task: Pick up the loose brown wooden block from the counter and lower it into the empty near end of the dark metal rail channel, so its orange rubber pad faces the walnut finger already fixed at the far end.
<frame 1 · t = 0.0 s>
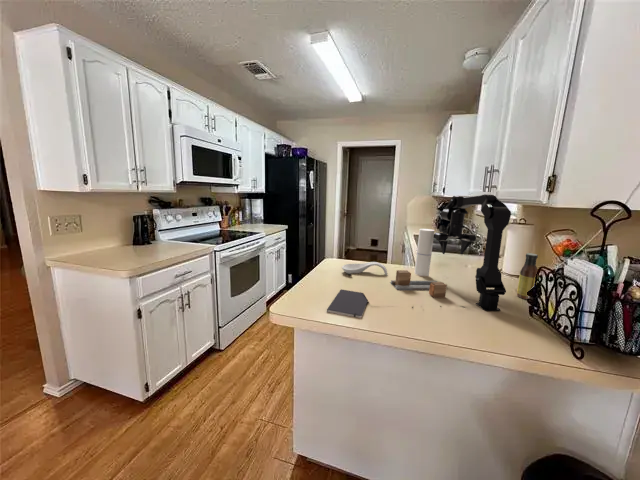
hand: (452, 254, 135), 15 cm above the countertop, tool pointing down, fingers open, 9 cm apart
spoon rest: (364, 275, 145), on the countertop
brown wooden block: (436, 299, 116), on the countertop
notebook: (349, 305, 108), on the countertop
cylindrical container: (421, 277, 145), on the countertop
rail: (416, 289, 126), on the countertop
sauce bottle: (524, 297, 123), on the countertop
fixed walnut finger: (401, 286, 125), resting on rail
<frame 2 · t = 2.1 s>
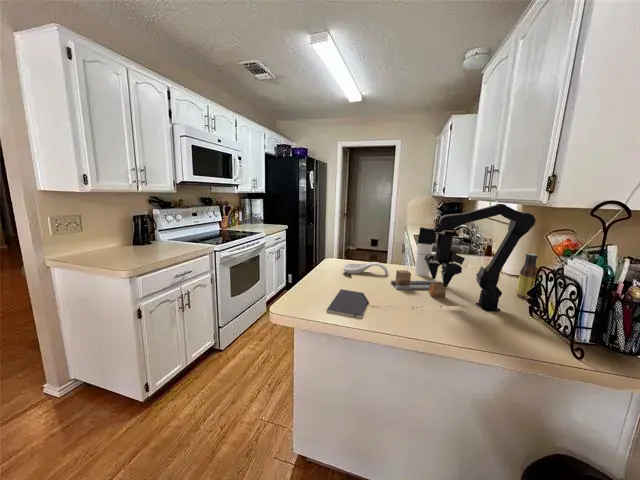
hand: (439, 282, 115), 7 cm above the countertop, tool pointing down, fingers open, 9 cm apart
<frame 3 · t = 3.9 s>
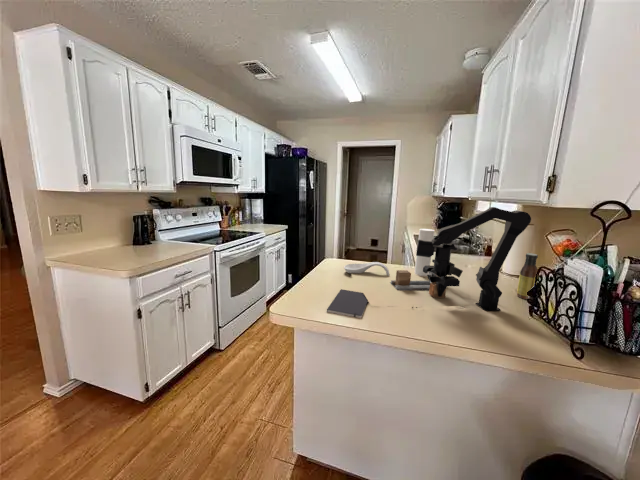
hand: (437, 294, 116), 2 cm above the countertop, tool pointing down, fingers closed on brown wooden block, 3 cm apart
brown wooden block: (436, 299, 116), on the countertop, touching gripper
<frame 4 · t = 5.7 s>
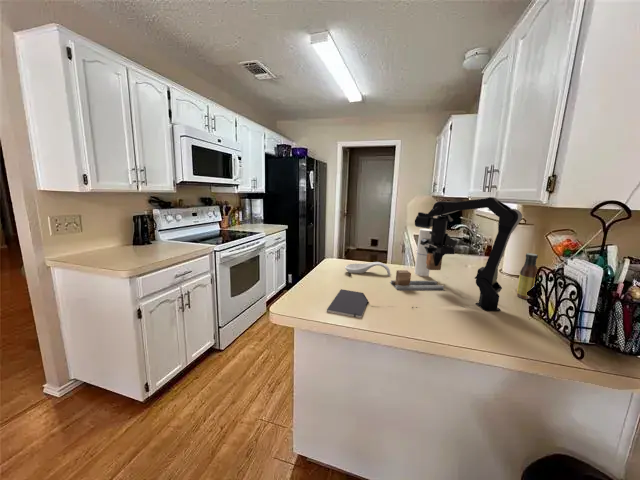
hand: (434, 264, 124), 12 cm above the countertop, tool pointing down, fingers closed on brown wooden block, 3 cm apart
brown wooden block: (433, 268, 124), point 10 cm above the countertop, touching gripper
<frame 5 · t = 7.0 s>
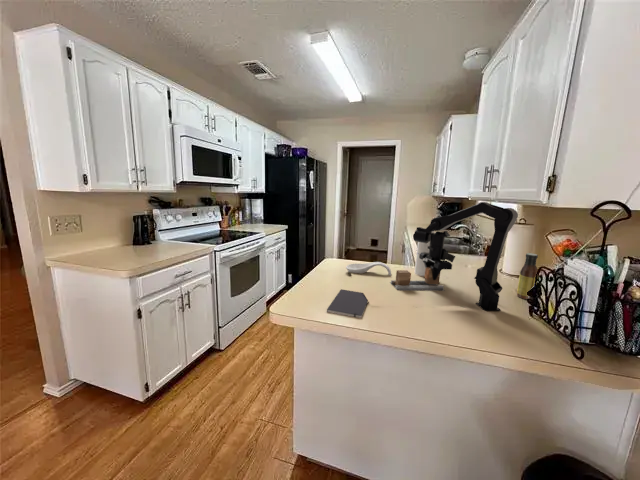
hand: (432, 278, 126), 5 cm above the countertop, tool pointing down, fingers closed on brown wooden block, 3 cm apart
brown wooden block: (431, 282, 126), point 3 cm above the countertop, touching gripper
when the fingers open (4 cm above the countertop, at t = 7.9 s): brown wooden block stays where it is, resting on rail.
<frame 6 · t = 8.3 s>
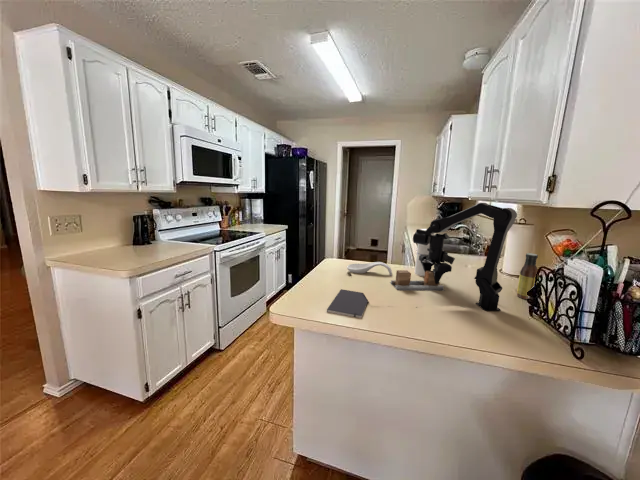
hand: (431, 280, 126), 4 cm above the countertop, tool pointing down, fingers open, 8 cm apart
brown wooden block: (431, 286, 127), point 1 cm above the countertop, touching rail
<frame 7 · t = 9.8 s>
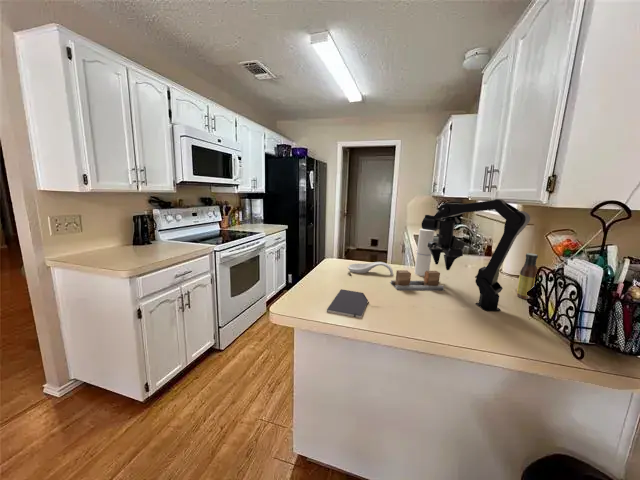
hand: (442, 267, 122), 12 cm above the countertop, tool pointing down, fingers open, 9 cm apart
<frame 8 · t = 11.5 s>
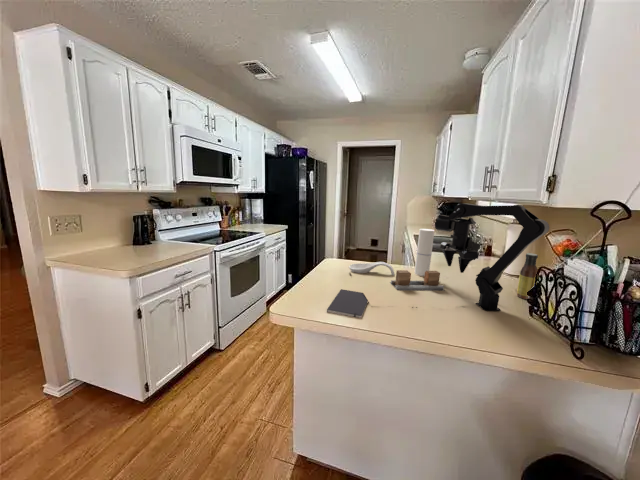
hand: (455, 269, 119), 12 cm above the countertop, tool pointing down, fingers open, 9 cm apart
at the end: brown wooden block 0.1 cm from the target spot on the rail, point 1.5 cm above the rail's base; brown wooden block tilted 0°; the gripper is holding nothing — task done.
